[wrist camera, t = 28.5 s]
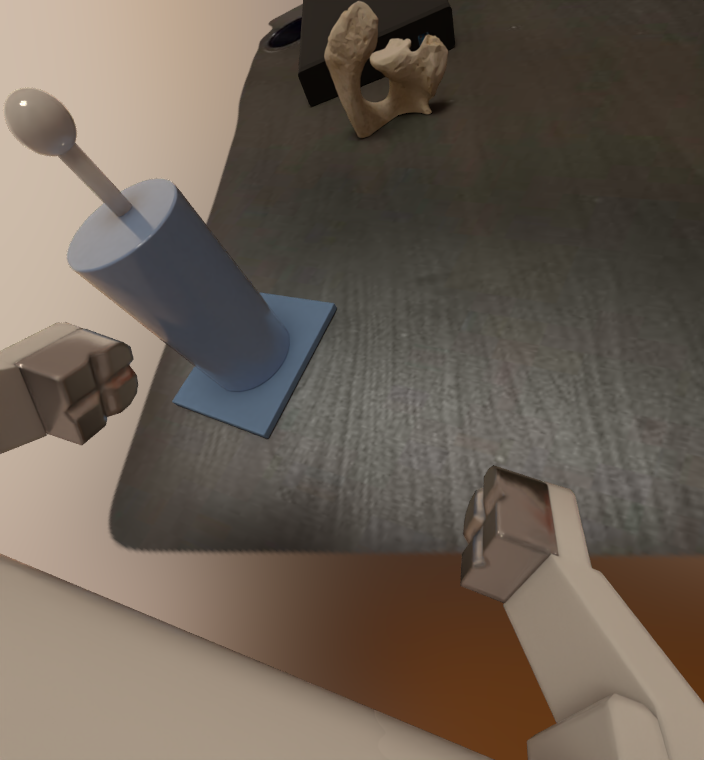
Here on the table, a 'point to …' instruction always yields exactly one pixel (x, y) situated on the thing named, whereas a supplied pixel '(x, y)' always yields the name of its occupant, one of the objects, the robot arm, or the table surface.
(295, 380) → the blue mat
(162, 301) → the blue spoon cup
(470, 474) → the table surface
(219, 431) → the table surface
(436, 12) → the external hard drive
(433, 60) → the bone
